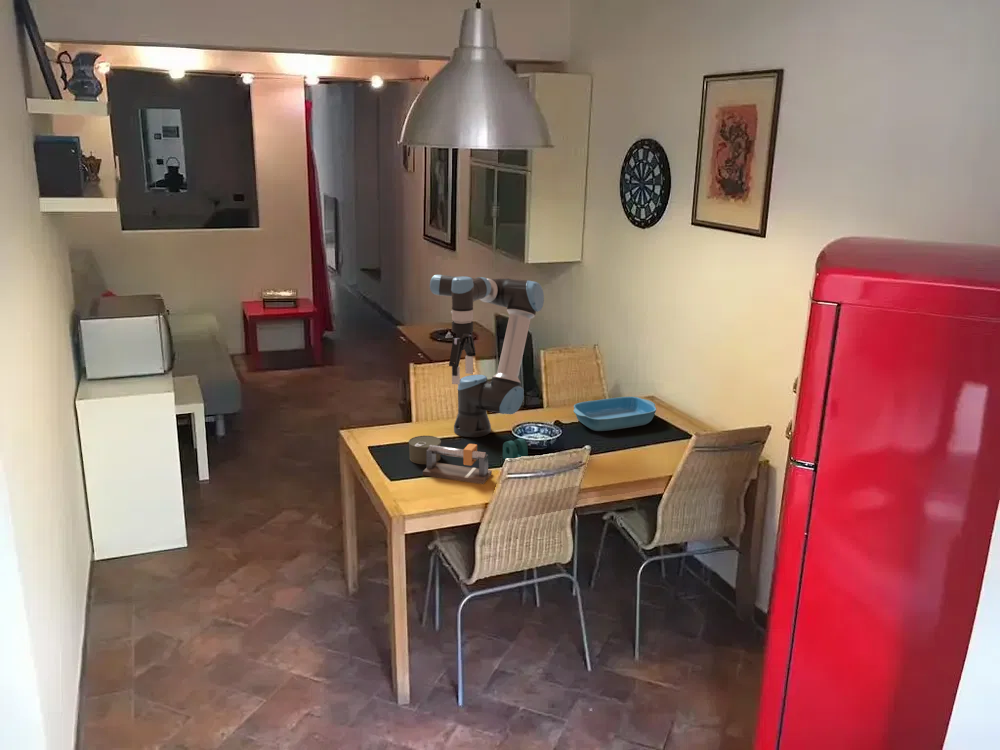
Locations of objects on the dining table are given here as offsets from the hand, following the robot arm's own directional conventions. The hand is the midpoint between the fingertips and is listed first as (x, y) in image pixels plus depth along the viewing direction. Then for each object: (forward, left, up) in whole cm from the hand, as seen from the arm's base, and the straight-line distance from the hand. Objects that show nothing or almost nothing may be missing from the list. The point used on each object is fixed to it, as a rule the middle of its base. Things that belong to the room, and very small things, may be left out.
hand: (462, 378), depth 298 cm
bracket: (-6, +22, -33) cm, 40 cm away
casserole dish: (-63, +45, -33) cm, 84 cm away
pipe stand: (+11, +2, -33) cm, 35 cm away
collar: (+11, +7, -27) cm, 30 cm away
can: (+1, -15, -33) cm, 36 cm away
